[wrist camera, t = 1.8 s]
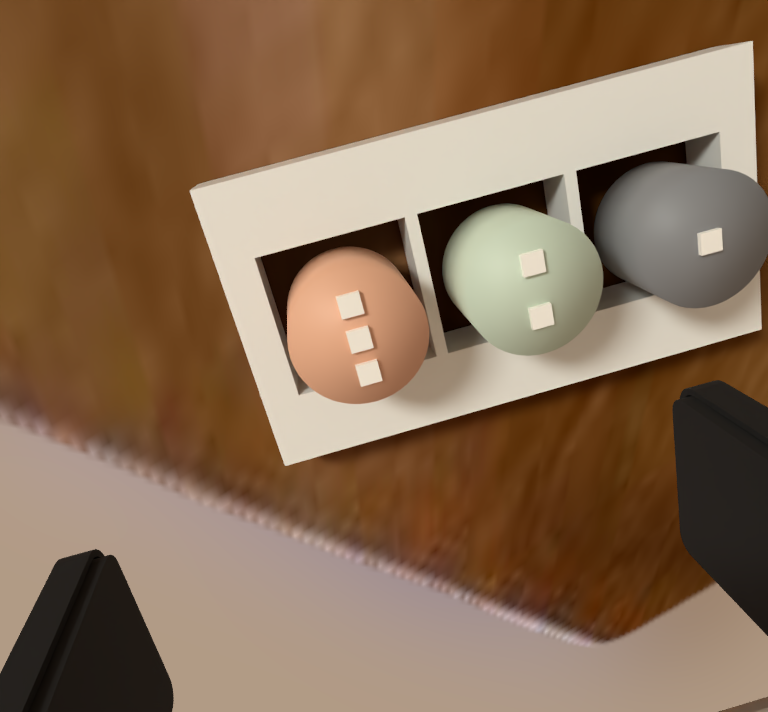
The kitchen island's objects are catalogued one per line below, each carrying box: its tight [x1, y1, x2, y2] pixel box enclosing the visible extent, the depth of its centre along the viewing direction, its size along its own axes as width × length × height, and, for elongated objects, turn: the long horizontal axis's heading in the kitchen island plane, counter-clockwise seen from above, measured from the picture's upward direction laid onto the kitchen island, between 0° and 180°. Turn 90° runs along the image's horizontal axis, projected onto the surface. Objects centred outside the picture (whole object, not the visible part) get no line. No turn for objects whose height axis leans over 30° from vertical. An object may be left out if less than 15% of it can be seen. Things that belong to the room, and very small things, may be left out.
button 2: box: [442, 203, 603, 356], centre depth 25 cm, size 5×5×4 cm
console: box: [190, 41, 762, 466], centre depth 28 cm, size 22×12×2 cm, turn 104°
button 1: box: [594, 161, 768, 308], centre depth 25 cm, size 5×5×4 cm
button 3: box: [287, 246, 429, 404], centre depth 25 cm, size 5×5×4 cm
